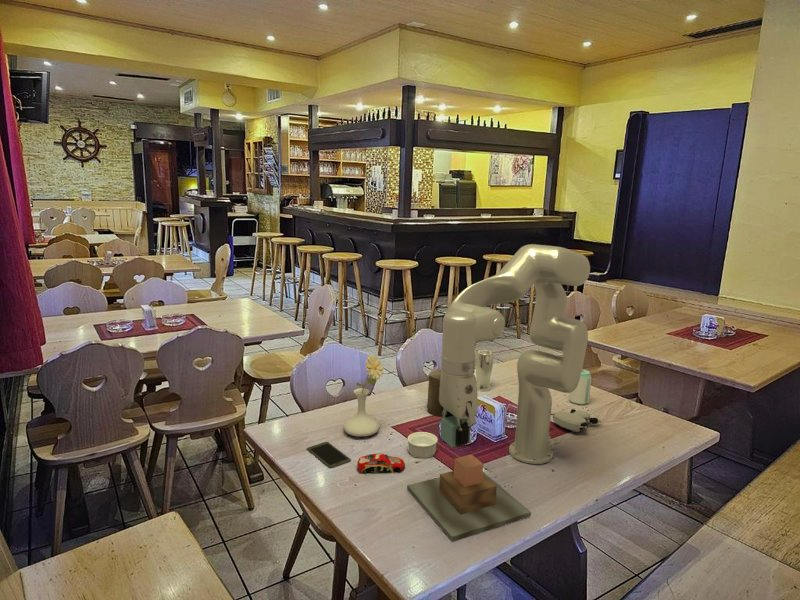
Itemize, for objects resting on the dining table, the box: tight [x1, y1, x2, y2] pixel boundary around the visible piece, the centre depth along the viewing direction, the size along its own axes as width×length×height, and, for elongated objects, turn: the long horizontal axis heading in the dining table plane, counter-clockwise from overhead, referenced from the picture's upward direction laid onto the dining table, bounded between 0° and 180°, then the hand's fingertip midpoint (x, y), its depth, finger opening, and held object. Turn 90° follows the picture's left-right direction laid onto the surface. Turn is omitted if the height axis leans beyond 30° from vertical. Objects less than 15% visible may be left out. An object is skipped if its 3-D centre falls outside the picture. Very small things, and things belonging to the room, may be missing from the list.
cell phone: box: [306, 441, 352, 469], centre depth 148 cm, size 7×14×1 cm, turn 39°
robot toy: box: [551, 408, 603, 433], centre depth 171 cm, size 12×4×15 cm
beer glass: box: [475, 349, 494, 392], centre depth 201 cm, size 7×7×15 cm
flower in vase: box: [342, 354, 384, 438], centre depth 161 cm, size 13×11×25 cm
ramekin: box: [406, 431, 439, 459], centre depth 151 cm, size 9×9×4 cm
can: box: [568, 368, 592, 406], centre depth 190 cm, size 7×7×12 cm
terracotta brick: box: [453, 454, 484, 487], centre depth 125 cm, size 5×5×5 cm
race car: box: [356, 453, 406, 475], centre depth 142 cm, size 13×5×4 cm, turn 94°
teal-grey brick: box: [440, 416, 472, 448], centre depth 120 cm, size 5×5×5 cm
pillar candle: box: [426, 369, 443, 417], centre depth 179 cm, size 10×10×15 cm
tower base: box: [406, 470, 532, 542], centre depth 127 cm, size 22×22×6 cm
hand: (455, 438), depth 120 cm, fingers closed on teal-grey brick, 5 cm apart
